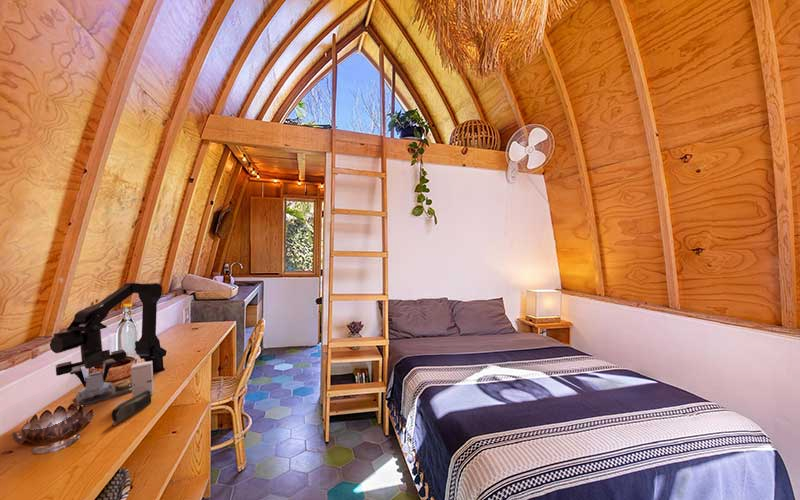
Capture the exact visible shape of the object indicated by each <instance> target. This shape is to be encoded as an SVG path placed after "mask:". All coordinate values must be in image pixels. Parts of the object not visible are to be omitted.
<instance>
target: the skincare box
mask: <svg viewBox="0 0 800 500" xmlns="http://www.w3.org/2000/svg"><path fill="white" fill-rule="evenodd" d="M130 376H131V377H130V379H131V381H132V392H131V395H132V396H131V398H133V397H135V396H136V395H139V394H140V393H142V392H144V391H150V392H151V396H153V394H154V391H155V388H154V385H155V384H154V373H153V365H152V361H147V362H144V361H142V362H138V363H132V365H131V367H130Z"/></svg>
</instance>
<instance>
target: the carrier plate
mask: <svg viewBox="0 0 800 500" xmlns="http://www.w3.org/2000/svg"><path fill="white" fill-rule="evenodd" d="M128 393H132V381H131V378H123V379H120V380H118V381H116V382H114V384H112V388H111V389H109V391H106V392H103V393H102V394H98V395H95V396H93V397H86V398H82V397H80V398H78V394H76V395H75V401H76V402H75V403H76V405H77V406H80V405H83V407H82V408H84V407H86V406H90V405H93V404H97V403H100V402H103V401H106V400H110V399H113V398H116V397H118V396H123V395H125V394H128Z"/></svg>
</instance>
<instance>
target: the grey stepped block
mask: <svg viewBox="0 0 800 500" xmlns="http://www.w3.org/2000/svg"><path fill="white" fill-rule="evenodd" d="M84 379H85V383H86V387H83V388H81V389H80V390H78V391H77V395H78V398H80V397H82V398H86V397H93V396H95V395H98V394H102V393H103V392H106V391H109V389H111V388H112V385H113V384H112V382H108V381H107V382H106V381H105V382H104V380H103V371H98V372H93V373H89V374H87V375H85V376H84Z"/></svg>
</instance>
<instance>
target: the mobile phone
mask: <svg viewBox="0 0 800 500" xmlns="http://www.w3.org/2000/svg"><path fill="white" fill-rule="evenodd" d="M151 403H152V395H151V392H150V391H144V392H142V393H140V394H139V395H136V396H135V397H133V398H132V397H131V398H129V399H127V400H125V401H123V402H121V403H119V404H118V405H117V406H116V407H115V408H114V409H113V410H112V412H111V418H112V419H111V420H112V422H113V424H112V425H111V426H112V427H115V426H116V425H118V424H119V423H121V422H123V421H124V420H126V419H127V418H130V417H131V416H132V415H135V414H136V413H138V412H139V411H142V410H143V409H144V408H146V407H148V406H149V405H150V404H151Z"/></svg>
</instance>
